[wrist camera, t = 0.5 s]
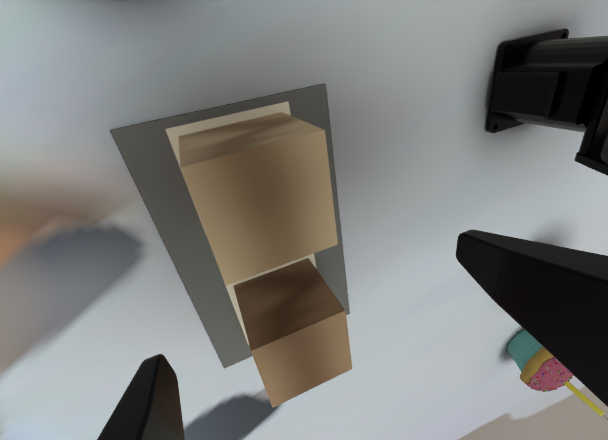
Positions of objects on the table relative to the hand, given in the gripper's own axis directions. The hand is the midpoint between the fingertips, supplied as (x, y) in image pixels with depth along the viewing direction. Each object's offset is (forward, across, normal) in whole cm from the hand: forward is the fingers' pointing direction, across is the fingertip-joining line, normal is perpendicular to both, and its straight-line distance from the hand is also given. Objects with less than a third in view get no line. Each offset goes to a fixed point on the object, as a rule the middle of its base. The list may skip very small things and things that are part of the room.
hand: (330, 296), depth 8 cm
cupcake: (+13, -34, +38) cm, 53 cm away
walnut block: (+12, 0, +11) cm, 16 cm away
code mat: (+12, 0, +6) cm, 14 cm away
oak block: (+12, 0, 0) cm, 12 cm away
